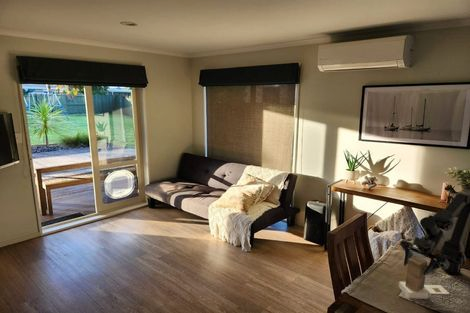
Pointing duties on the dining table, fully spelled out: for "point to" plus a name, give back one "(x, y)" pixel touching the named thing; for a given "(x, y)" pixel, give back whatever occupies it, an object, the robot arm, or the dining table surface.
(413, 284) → the brown tall block
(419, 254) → the medicine box
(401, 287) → the base block
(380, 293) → the dining table surface
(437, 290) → the card
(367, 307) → the dining table surface
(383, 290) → the dining table surface
